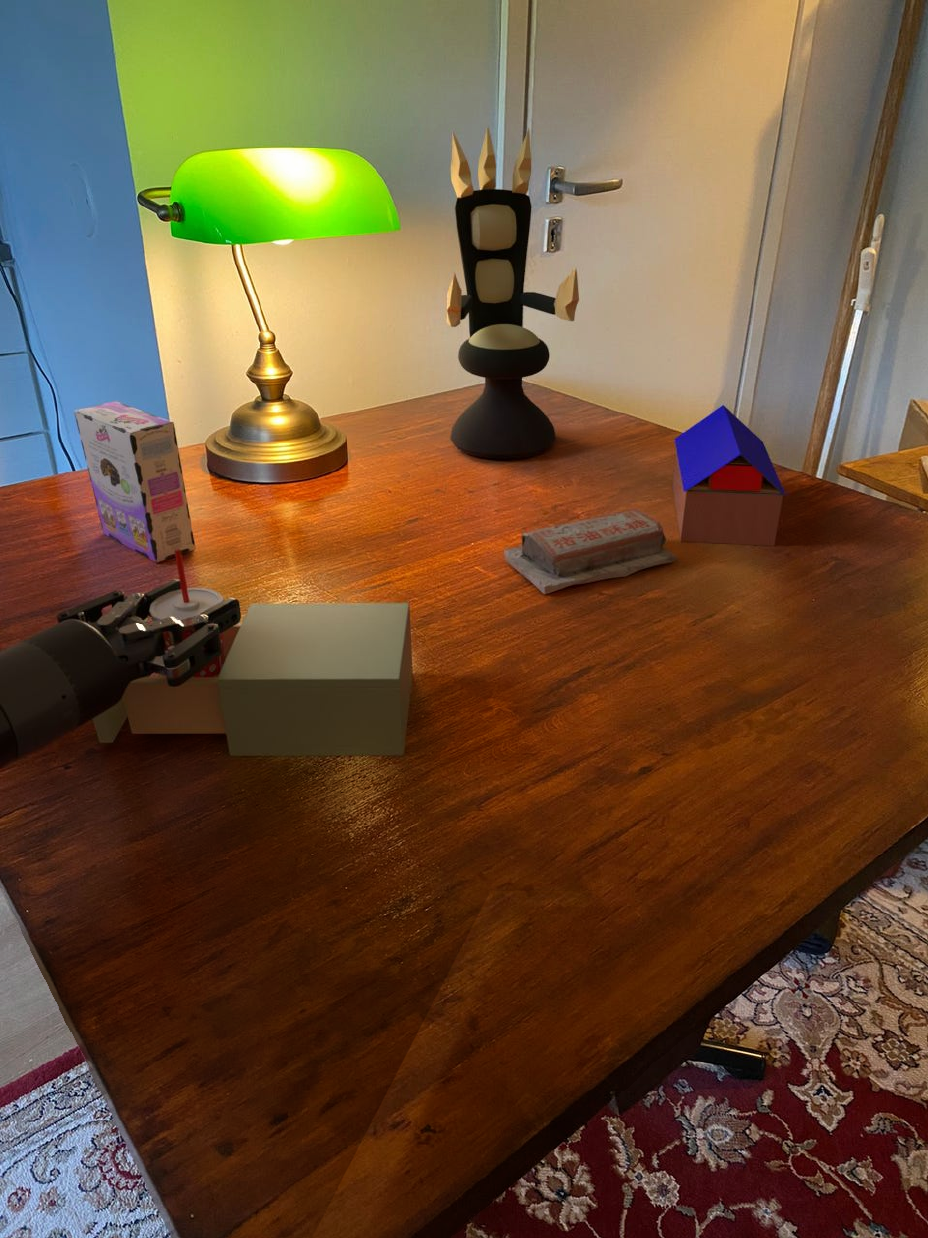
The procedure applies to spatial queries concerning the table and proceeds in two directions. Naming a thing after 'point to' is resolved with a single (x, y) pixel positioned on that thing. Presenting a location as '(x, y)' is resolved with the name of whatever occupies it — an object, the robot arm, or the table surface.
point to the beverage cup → (188, 613)
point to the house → (725, 484)
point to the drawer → (167, 705)
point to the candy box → (136, 479)
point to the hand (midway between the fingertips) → (208, 598)
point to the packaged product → (590, 550)
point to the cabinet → (318, 680)
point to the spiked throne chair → (500, 309)
